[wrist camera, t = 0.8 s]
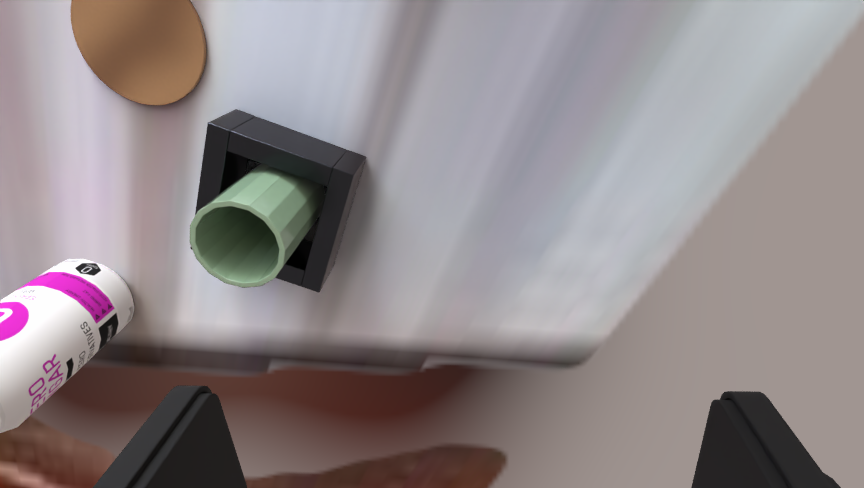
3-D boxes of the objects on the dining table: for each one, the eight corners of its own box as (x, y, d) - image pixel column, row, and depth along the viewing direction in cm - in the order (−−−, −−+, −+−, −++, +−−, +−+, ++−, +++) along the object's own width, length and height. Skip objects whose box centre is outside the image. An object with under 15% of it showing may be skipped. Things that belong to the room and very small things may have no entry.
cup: (238, 198, 42) (174, 252, 34) (272, 139, 40) (213, 181, 31) (302, 240, 44) (257, 303, 35) (339, 186, 41) (301, 239, 32)
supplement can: (41, 255, 47) (-133, 359, 34) (123, 254, 46) (-23, 361, 33) (73, 326, 50) (-72, 445, 37) (149, 326, 50) (29, 448, 36)
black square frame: (217, 225, 44) (190, 249, 40) (235, 108, 39) (207, 122, 35) (333, 265, 45) (319, 293, 41) (366, 156, 40) (353, 175, 36)
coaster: (57, 50, 38) (53, 51, 38) (99, -74, 34) (95, -75, 34) (176, 129, 40) (173, 131, 40) (228, 21, 36) (226, 21, 36)
